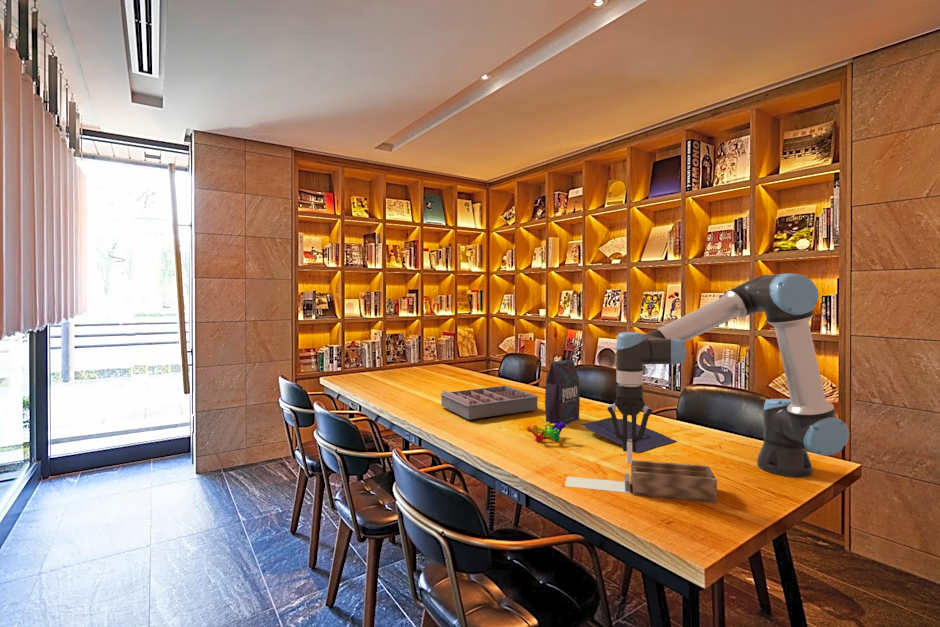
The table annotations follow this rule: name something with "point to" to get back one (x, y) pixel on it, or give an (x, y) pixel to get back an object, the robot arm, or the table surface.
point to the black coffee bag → (562, 393)
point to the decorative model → (547, 431)
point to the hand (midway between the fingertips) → (629, 462)
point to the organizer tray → (488, 401)
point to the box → (673, 481)
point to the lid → (599, 484)
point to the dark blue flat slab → (628, 433)
